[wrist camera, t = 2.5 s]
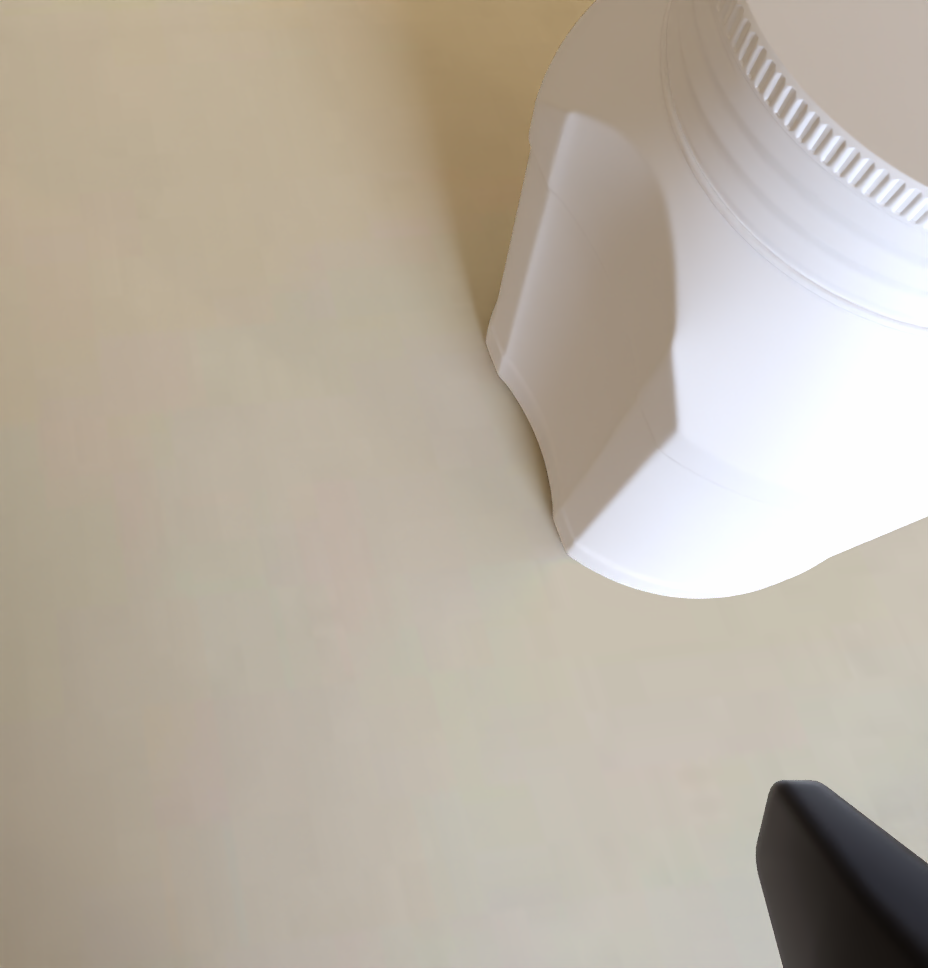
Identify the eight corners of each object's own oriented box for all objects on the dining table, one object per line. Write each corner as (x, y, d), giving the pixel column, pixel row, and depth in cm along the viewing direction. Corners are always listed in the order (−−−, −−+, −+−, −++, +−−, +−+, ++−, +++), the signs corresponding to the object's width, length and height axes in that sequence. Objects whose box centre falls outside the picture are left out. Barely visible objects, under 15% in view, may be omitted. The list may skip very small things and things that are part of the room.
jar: (454, 267, 26) (519, -321, 11) (749, 184, 27) (1136, -430, 13) (599, 647, 23) (925, 501, 9) (918, 533, 25) (1649, 246, 10)
